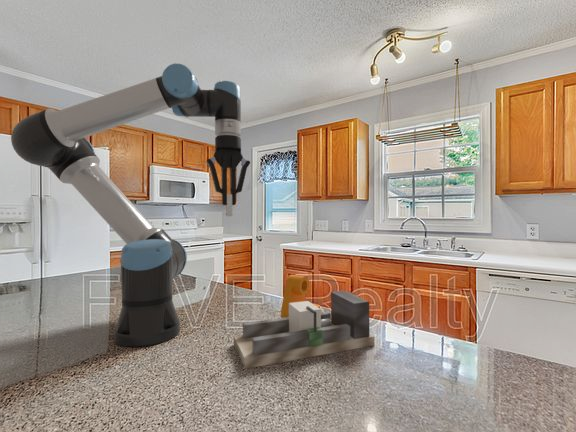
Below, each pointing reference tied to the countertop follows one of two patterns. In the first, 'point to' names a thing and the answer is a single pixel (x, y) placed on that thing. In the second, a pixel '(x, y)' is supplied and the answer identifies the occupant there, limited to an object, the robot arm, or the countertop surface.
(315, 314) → the gauge carriage
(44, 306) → the countertop surface
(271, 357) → the base
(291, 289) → the bracket
